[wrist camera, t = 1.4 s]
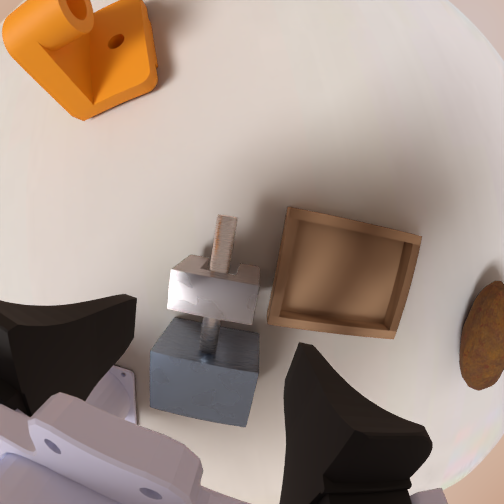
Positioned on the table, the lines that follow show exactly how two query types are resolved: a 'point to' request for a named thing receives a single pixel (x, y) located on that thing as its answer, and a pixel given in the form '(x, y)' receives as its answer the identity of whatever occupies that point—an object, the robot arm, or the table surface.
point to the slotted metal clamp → (214, 291)
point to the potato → (484, 339)
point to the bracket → (84, 51)
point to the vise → (206, 358)
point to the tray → (341, 275)
